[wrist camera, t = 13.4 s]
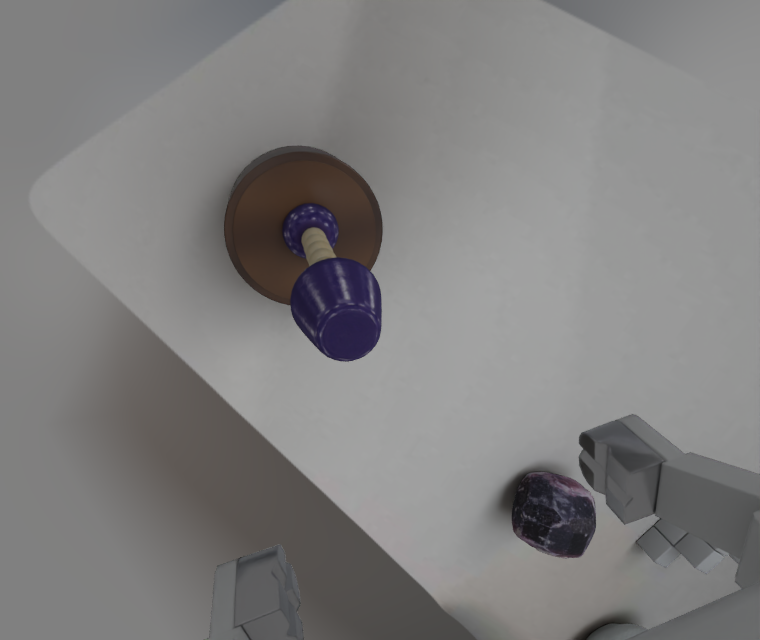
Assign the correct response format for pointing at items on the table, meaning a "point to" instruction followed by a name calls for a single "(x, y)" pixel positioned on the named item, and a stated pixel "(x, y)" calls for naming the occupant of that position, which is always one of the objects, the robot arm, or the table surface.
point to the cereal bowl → (616, 632)
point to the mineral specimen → (554, 514)
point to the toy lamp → (331, 288)
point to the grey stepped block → (680, 547)
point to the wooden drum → (280, 196)
